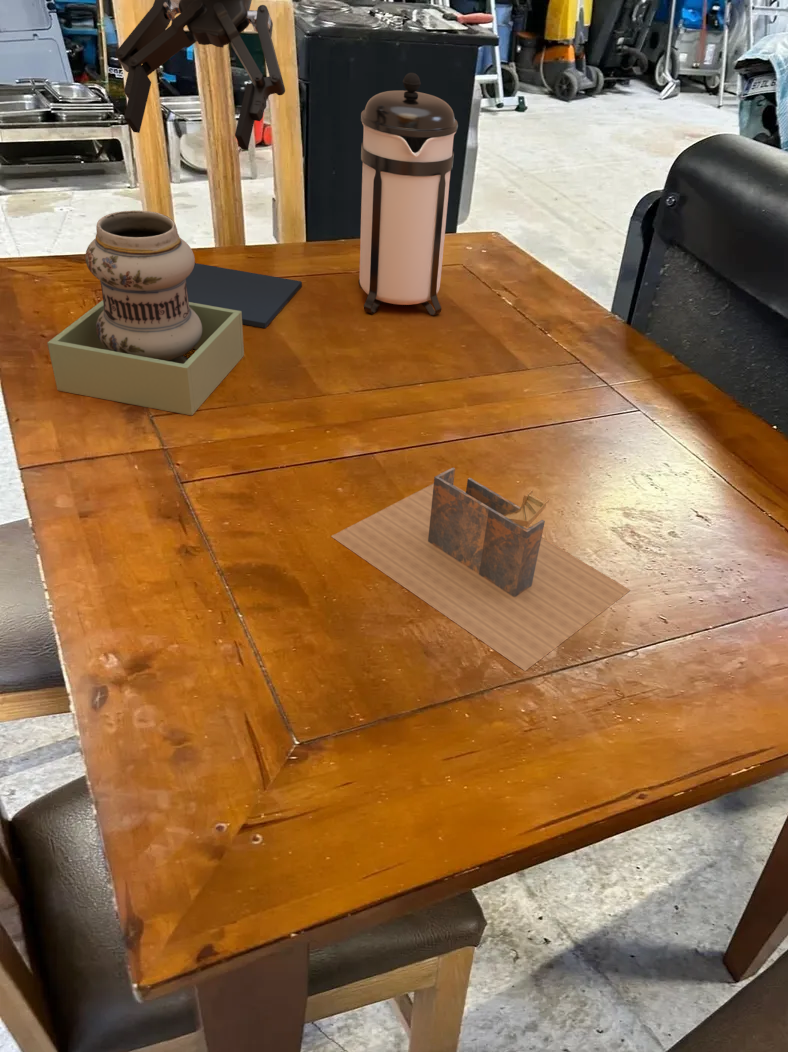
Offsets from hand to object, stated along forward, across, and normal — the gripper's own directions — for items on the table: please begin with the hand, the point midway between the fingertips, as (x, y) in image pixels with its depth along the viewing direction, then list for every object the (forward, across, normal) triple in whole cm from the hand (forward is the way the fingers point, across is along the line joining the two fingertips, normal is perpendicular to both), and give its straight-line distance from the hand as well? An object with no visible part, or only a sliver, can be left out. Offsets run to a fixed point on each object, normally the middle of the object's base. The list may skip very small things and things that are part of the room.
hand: (186, 134), depth 105 cm
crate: (+27, 0, -7) cm, 28 cm away
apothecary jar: (+27, 0, -7) cm, 28 cm away
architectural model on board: (+45, -45, +11) cm, 64 cm away
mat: (+9, +2, -24) cm, 26 cm away
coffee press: (+2, -22, -32) cm, 38 cm away
